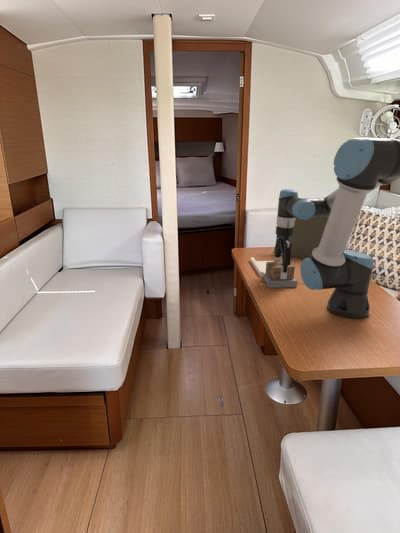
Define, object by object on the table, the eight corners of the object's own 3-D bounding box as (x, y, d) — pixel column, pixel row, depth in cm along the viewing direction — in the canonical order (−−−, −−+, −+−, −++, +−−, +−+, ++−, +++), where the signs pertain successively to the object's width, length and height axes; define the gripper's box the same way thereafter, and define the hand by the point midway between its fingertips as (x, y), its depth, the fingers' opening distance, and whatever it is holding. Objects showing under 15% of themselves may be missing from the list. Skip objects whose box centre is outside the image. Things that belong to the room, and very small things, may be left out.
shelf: (291, 278, 173) (291, 272, 172) (259, 278, 172) (260, 272, 171) (277, 262, 194) (278, 257, 193) (250, 262, 193) (250, 257, 192)
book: (324, 256, 208) (333, 207, 198) (327, 261, 199) (336, 210, 189) (286, 252, 211) (293, 204, 201) (286, 257, 202) (293, 207, 193)
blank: (293, 279, 164) (294, 266, 162) (272, 280, 161) (274, 268, 159) (285, 273, 171) (286, 260, 169) (265, 274, 168) (266, 262, 166)
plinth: (296, 287, 163) (297, 280, 162) (268, 287, 162) (268, 281, 161) (289, 278, 172) (290, 272, 171) (262, 279, 171) (263, 273, 170)
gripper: (302, 232, 148) (296, 283, 156) (285, 220, 169) (281, 266, 176) (284, 232, 147) (278, 284, 155) (270, 220, 168) (265, 266, 176)
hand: (280, 274), depth 166 cm, fingers open, 9 cm apart
